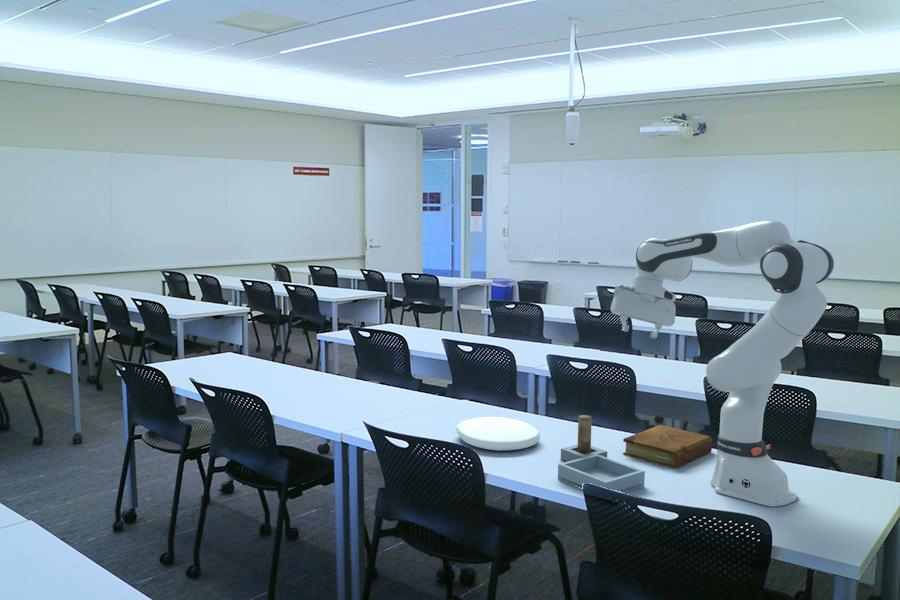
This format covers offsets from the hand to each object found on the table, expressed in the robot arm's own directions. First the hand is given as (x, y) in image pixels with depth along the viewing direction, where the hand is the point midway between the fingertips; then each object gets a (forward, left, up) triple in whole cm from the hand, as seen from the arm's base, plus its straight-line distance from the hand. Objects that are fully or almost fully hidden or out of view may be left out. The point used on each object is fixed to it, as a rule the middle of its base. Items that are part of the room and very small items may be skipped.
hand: (639, 334), depth 225 cm
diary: (-2, -13, -40) cm, 42 cm away
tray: (-9, +25, -39) cm, 47 cm away
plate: (+39, +24, -40) cm, 60 cm away
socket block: (+8, +15, -39) cm, 43 cm away
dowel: (+8, +15, -39) cm, 43 cm away
